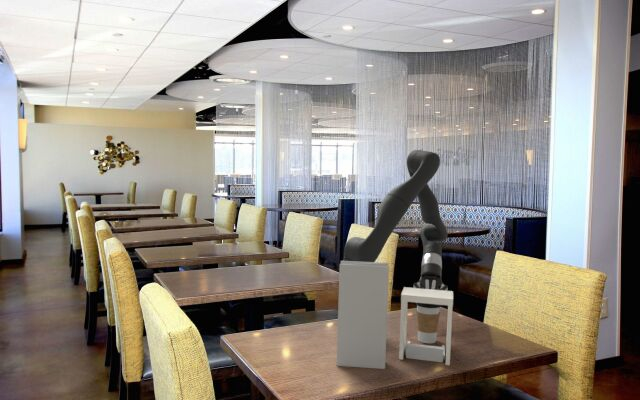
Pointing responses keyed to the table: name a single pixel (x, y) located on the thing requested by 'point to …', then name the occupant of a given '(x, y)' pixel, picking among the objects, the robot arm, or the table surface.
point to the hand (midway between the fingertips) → (429, 307)
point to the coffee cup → (427, 322)
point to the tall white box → (362, 314)
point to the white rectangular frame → (410, 349)
